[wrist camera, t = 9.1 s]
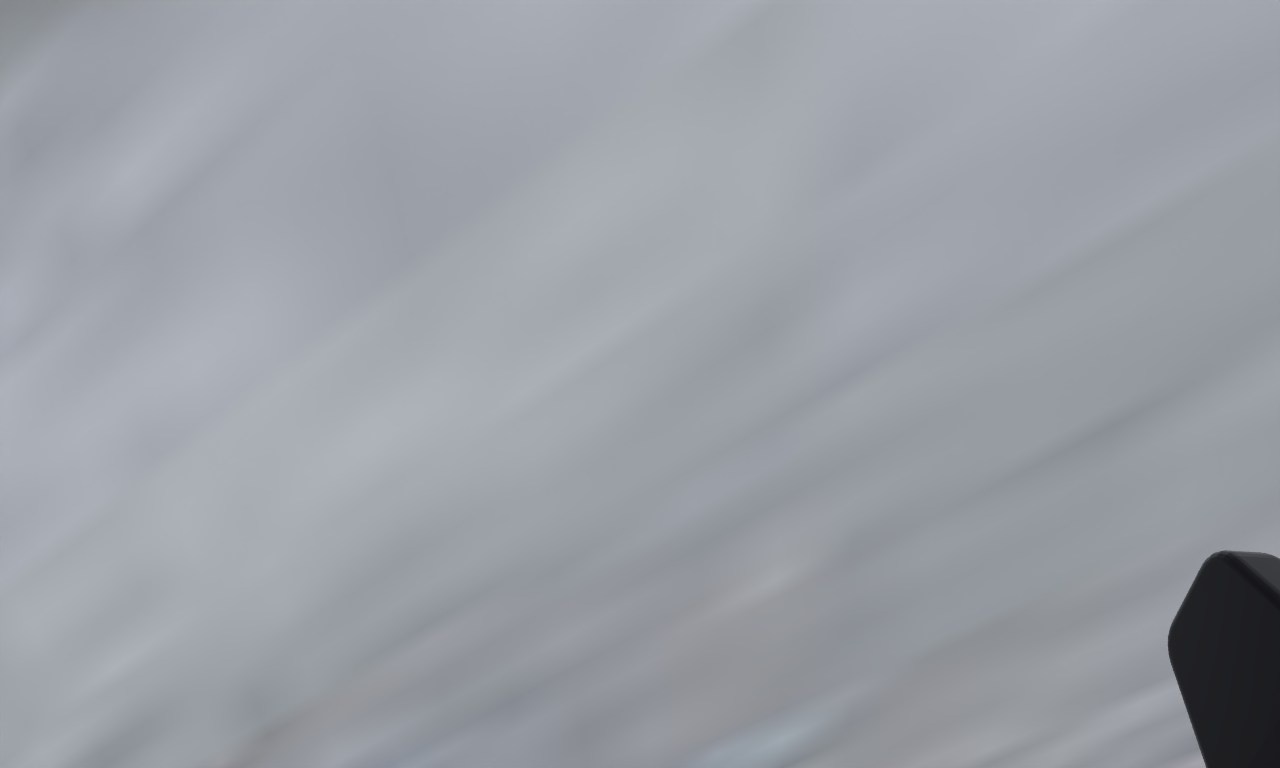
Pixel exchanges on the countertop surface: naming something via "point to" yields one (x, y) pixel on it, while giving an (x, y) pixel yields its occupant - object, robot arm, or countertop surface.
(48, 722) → the countertop surface
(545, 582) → the countertop surface
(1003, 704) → the countertop surface
